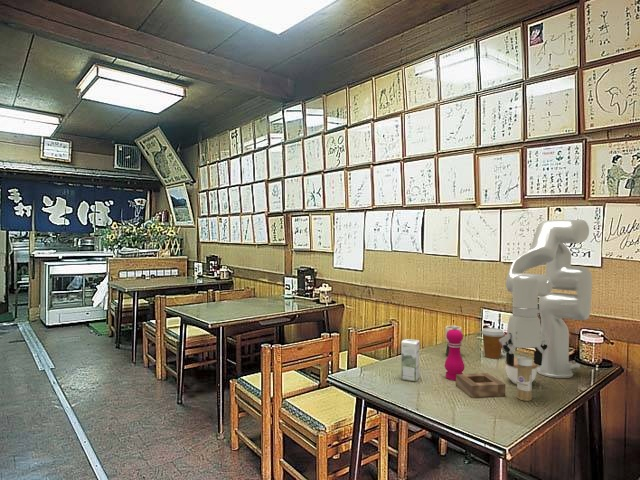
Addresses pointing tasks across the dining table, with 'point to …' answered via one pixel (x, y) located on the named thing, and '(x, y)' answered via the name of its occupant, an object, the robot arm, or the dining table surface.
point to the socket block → (480, 385)
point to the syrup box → (410, 360)
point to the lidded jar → (513, 371)
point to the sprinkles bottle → (524, 378)
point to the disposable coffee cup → (492, 342)
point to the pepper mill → (454, 354)
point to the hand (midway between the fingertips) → (524, 364)
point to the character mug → (446, 337)
